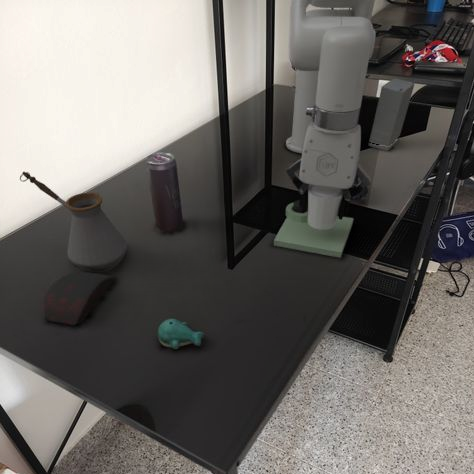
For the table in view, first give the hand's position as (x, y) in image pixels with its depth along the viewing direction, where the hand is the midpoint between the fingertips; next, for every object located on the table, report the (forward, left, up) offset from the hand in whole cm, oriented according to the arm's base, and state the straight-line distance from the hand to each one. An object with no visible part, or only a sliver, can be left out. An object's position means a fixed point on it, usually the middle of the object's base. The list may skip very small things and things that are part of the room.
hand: (322, 212), depth 86 cm
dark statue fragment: (-22, +1, -7) cm, 23 cm away
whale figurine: (+37, -14, -7) cm, 40 cm away
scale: (-2, -1, -6) cm, 7 cm away
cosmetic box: (-57, +7, -7) cm, 58 cm away
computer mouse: (+33, -36, -7) cm, 50 cm away
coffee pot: (+21, -44, -7) cm, 50 cm away
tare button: (-6, -6, -4) cm, 10 cm away
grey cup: (0, 0, -2) cm, 2 cm away
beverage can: (+5, -32, -7) cm, 34 cm away
